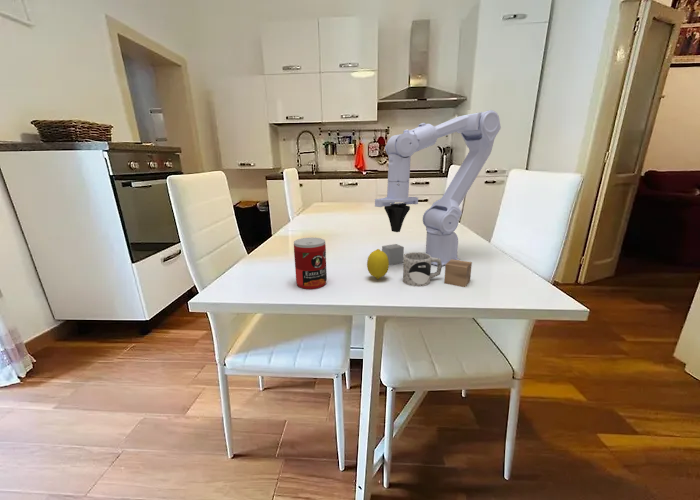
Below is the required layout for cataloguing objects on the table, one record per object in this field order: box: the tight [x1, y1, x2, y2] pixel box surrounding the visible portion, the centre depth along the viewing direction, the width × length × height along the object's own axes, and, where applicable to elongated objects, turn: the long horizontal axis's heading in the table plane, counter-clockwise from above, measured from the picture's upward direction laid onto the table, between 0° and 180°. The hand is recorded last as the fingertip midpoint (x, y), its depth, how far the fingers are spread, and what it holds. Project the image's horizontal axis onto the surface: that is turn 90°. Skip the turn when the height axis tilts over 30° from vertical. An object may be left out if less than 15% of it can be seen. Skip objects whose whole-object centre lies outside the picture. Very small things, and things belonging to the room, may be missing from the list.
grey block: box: [381, 243, 405, 266], centre depth 94 cm, size 5×4×5 cm
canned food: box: [293, 237, 328, 290], centre depth 77 cm, size 8×8×11 cm
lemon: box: [366, 248, 390, 280], centre depth 80 cm, size 6×6×8 cm
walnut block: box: [444, 259, 473, 288], centre depth 78 cm, size 5×5×5 cm
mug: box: [402, 252, 442, 287], centre depth 79 cm, size 10×7×7 cm
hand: (395, 231), depth 88 cm, fingers closed
